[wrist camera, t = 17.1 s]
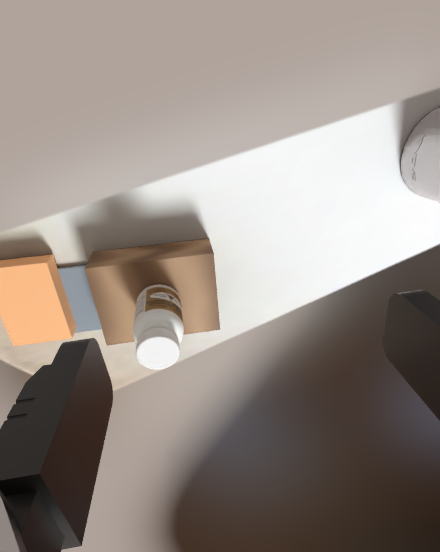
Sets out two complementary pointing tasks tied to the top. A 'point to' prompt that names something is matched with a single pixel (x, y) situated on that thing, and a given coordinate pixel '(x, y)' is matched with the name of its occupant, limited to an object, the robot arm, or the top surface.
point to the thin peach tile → (34, 301)
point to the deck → (152, 271)
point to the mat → (80, 298)
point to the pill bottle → (158, 326)
